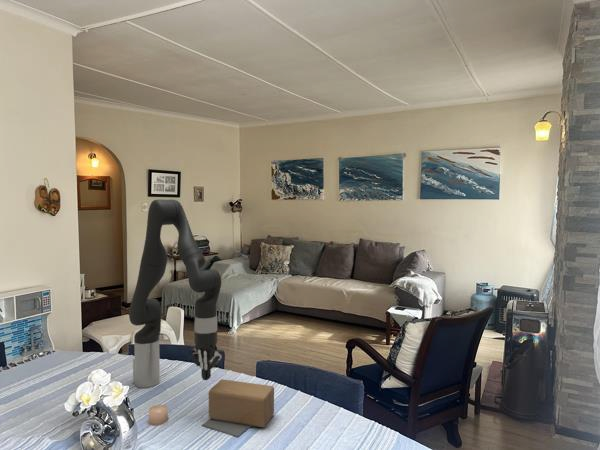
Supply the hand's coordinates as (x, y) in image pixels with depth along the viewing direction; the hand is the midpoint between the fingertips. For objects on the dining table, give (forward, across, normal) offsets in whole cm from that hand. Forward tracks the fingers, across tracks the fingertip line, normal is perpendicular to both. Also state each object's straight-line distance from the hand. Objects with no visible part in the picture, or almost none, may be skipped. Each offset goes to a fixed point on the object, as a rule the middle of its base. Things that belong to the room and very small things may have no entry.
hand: (206, 379), depth 145 cm
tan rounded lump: (+12, -11, -11) cm, 20 cm away
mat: (+12, +11, 0) cm, 16 cm away
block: (+7, +2, +1) cm, 7 cm away
